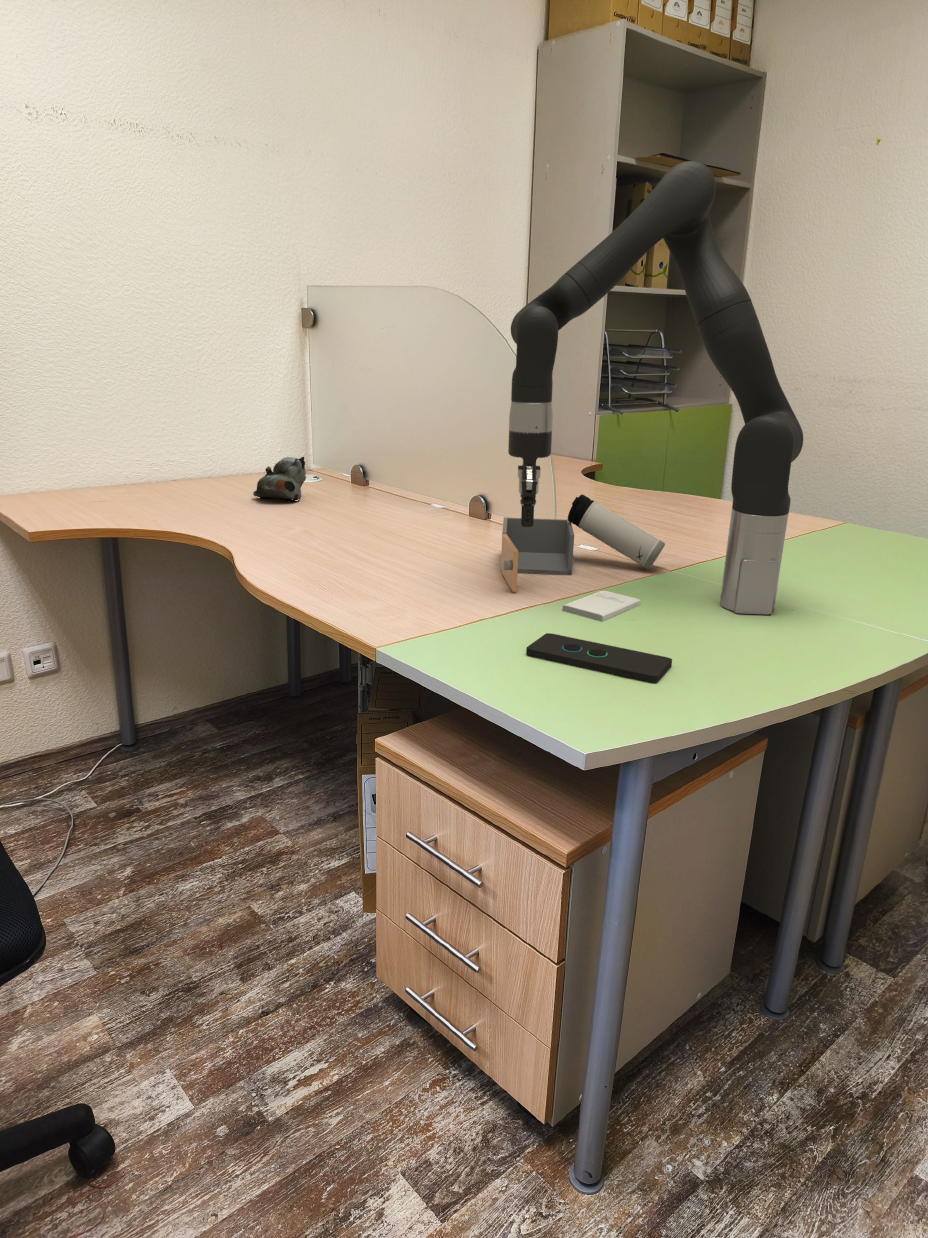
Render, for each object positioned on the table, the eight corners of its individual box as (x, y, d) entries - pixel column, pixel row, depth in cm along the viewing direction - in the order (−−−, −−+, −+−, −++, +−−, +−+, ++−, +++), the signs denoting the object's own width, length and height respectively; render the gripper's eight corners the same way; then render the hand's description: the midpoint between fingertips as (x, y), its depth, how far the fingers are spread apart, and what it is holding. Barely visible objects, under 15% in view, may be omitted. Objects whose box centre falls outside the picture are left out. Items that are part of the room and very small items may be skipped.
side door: (504, 591, 152) (506, 551, 149) (493, 571, 164) (495, 533, 162) (516, 591, 152) (518, 551, 150) (504, 571, 164) (506, 533, 162)
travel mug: (651, 563, 164) (565, 511, 168) (646, 573, 170) (563, 523, 174) (668, 538, 165) (582, 487, 169) (662, 549, 172) (580, 500, 175)
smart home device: (547, 631, 130) (673, 657, 121) (546, 641, 131) (672, 668, 121) (524, 647, 123) (656, 676, 114) (524, 658, 124) (655, 687, 115)
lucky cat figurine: (248, 496, 231) (263, 449, 232) (290, 511, 236) (304, 465, 237) (259, 490, 217) (275, 440, 219) (303, 506, 222) (318, 457, 224)
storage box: (571, 574, 164) (574, 535, 162) (500, 572, 165) (502, 532, 163) (568, 556, 178) (570, 519, 175) (502, 554, 178) (503, 517, 176)
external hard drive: (561, 613, 144) (600, 597, 153) (602, 624, 139) (640, 607, 148) (562, 604, 143) (601, 588, 152) (603, 615, 138) (641, 598, 147)
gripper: (553, 432, 139) (549, 534, 144) (550, 424, 151) (546, 518, 157) (508, 432, 139) (506, 533, 145) (509, 424, 152) (506, 517, 157)
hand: (527, 525), depth 151 cm, fingers closed
